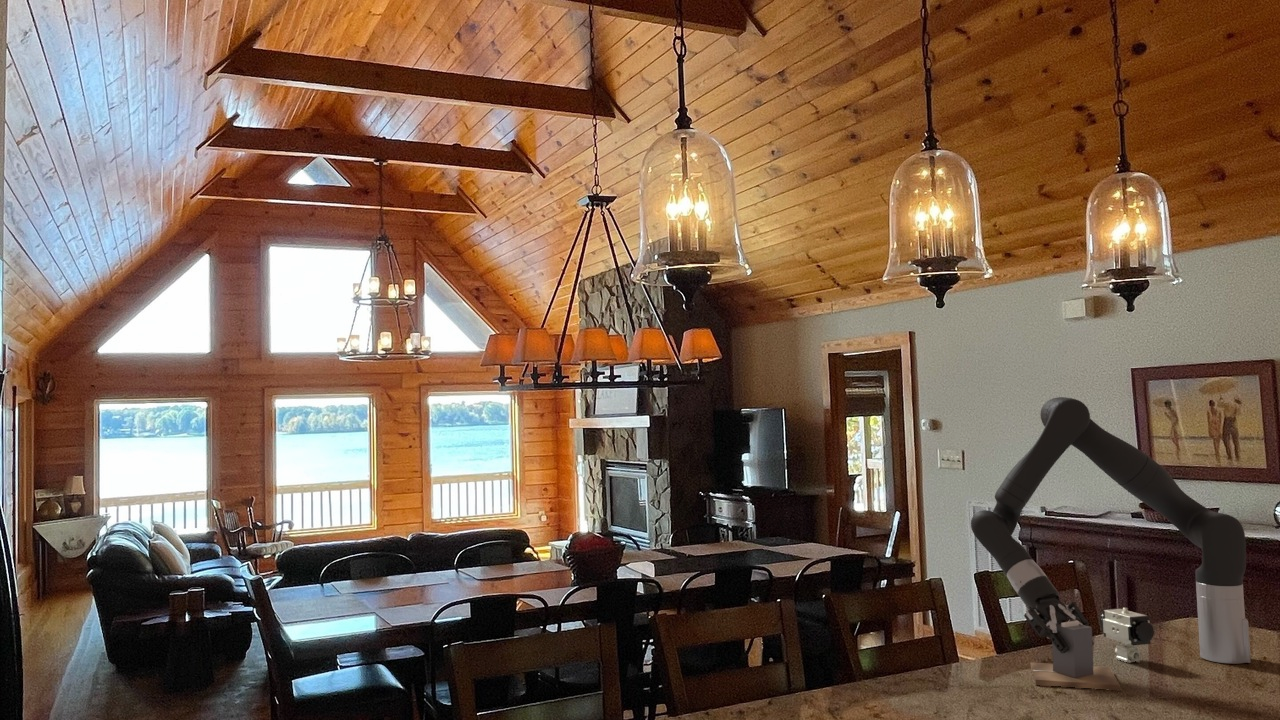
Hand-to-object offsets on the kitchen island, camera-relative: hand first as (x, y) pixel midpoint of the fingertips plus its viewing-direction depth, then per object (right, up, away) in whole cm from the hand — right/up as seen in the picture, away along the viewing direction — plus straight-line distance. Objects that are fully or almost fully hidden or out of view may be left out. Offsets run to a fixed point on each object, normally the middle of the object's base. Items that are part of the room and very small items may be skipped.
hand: (1078, 648), depth 197 cm
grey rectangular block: (0, -6, +1) cm, 6 cm away
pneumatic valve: (+18, -7, +14) cm, 24 cm away
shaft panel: (0, -7, +1) cm, 7 cm away
